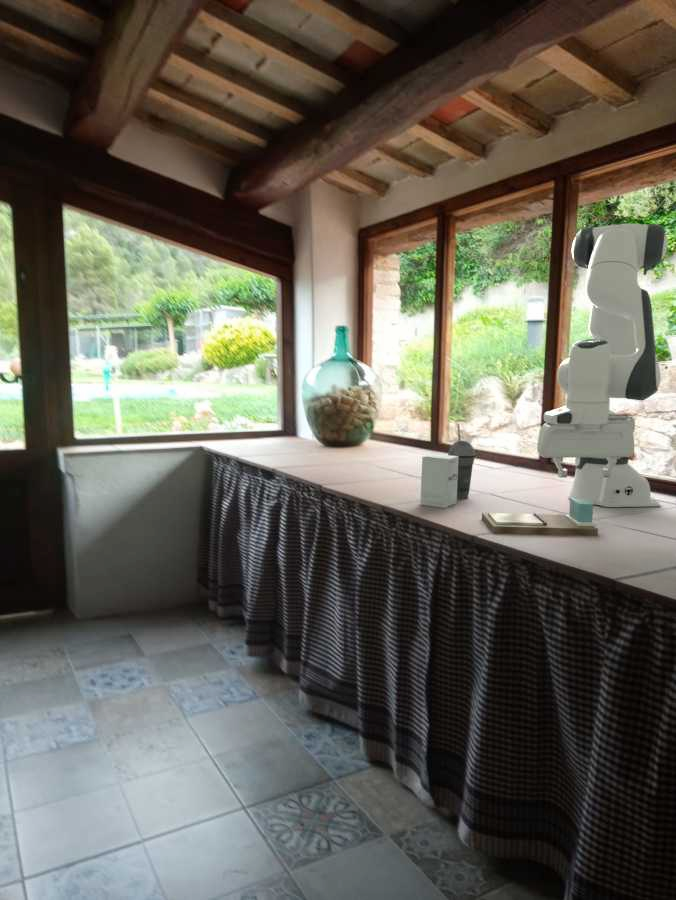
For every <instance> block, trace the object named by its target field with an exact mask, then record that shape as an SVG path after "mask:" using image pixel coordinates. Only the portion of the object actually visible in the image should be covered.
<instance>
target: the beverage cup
mask: <svg viewBox="0 0 676 900" xmlns="http://www.w3.org/2000/svg"><path fill="white" fill-rule="evenodd" d="M456 427H457V436H458V438H457V439H458V440H457V441H455V442H453V444H451V446H450V447H449V449H448V454H447V455H451V456H459V459H458V482H457V500H467V499H468V498H469V493H470V488H471V481H472V474H473V472H472V471H473V465H474V463H475V457H476V455H475V454H476V453H475V449H474V447H473V445H472V444H471V443H470V442H468V441H466V440H461V430H460V424H459V423H458V424H457V426H456Z"/></svg>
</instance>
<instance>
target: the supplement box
mask: <svg viewBox="0 0 676 900" xmlns="http://www.w3.org/2000/svg"><path fill="white" fill-rule="evenodd" d="M421 459H422V460H421V477H420V479H421V480H420V481H421V483H420V502H419V503H420V505H421V506H428V507H433V508H434V507H435V508H442V509H447V508H449V507H451V506H453V505H456V504H457V501H458V499H457V482H458V459H459V456H451V455H448V454H435V453H434V454H430V455H425V456H422V458H421Z"/></svg>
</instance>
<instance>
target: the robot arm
mask: <svg viewBox="0 0 676 900" xmlns="http://www.w3.org/2000/svg"><path fill="white" fill-rule="evenodd" d="M668 246H669V240H668V236H667V233H666V229H665V228H664V226H662V225H659V224H653V223H649V224H643V223H642V224H641V223H621V224H611V225H609V224H608V225H603V226H596V227H594V226H588V227H584V228H582V229H580V230H579V231H578V232H577V233H576V235H575V237H574V240H573V242H572V245H571V255H572V259H573V262H574V264H575V266H576V267H577V268H580V269H583V270H587V273H586V280H585V294H586V297H587V299H588V300H589V302H591V304H590V313H589V322H588V331H589V334H590V335H591V336H592V337H593V338H591V339H590V338H589V339H582V340H580V339H579V340H577V341H576V342H574V343H573V344H572V345H571V348H570V351H569V352H570V353H569V358H566V359H564V360H563V361H562V362H561V363H560V365H559V366H558V368H557V371H556V382H557V385H558V387H559V389H560V390H561V392H563V393H564V394H565V395H566V399H565V400H566V401H565V405H563V406H562V407H559V408H556V409H555V408H554V409H552V410H550V411H549V410H548V411H545V412H544V414H543V421H544V422H545V423H543V425H541V427H540V429H539V434H538V439H537V453H538V454H539V456H541V457H542V458H548V459H549V458H553V463H554V465H555V466H556V468H557V476H558V478H562V479H563V478H567V477H568V469H566V468H564V467H563V466H562V464H561V463H563V461H564V459H565V458H574V459H575V460H574V464H575V466H574V467H575V474H574V477H573V478H574V479H573V482H572V487H571V490H570V493H569V495H568V499H585V500H587V501H588V502H590V503H592V504H594V505H595V506H596V505H597V506H602V507H605V508H624V507H625V508H630V507H631V508H634V507H635V508H637V507H638V508H639V507H640V508H641V507H642V508H643V507H645V508H646V507H659V506H660V501H659V500H658V499H656V498H655V497H652V496H651V495H652V494H651V487H650V483H649V481H648V479H646V477H645V476H644V475H642V474H641V473H639V471H637V470H636V469H635V468H634V467H633V466H631V465H630V464H629V461H636V459H637V454H636V453H635V438H634V436H635V435H634V432H635V429H636V421H635V419H634V417H631V416H630V415H628V414H620V415H619V414H617V413H616V412H614V411H612V410H610V405H611V403H610V402H611V401H610V399H626V400H633V401H641V402H643V401H646V400H647V399H648V398H650V397H651V396H653V395H654V394H656V393H657V392H658V391H659V387H660V385H661V379H662V378H661V368H660V364H659V361H658V357H657V350H656V336H655V329H654V325H655V324H654V317H653V308H652V301H651V298H650V294H649V292H648V291H647V290H645V289H643V288H641V286H640V285H639V282H638V273H639V271H640V270H641V269H643V276H646V275H647V272H648V271H651V270H653V269H655V268H656V267H658V266H659V265H660V263H662V260H663V258H664V257H665V255H666V253H667V250H668Z"/></svg>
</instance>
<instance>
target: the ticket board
mask: <svg viewBox="0 0 676 900" xmlns="http://www.w3.org/2000/svg"><path fill="white" fill-rule="evenodd" d="M481 520H482V522H483V523H484V524H485V525H486V526H487V527H488V529H489V530H490V531H491V533H493V534H504V535H505V534H509V535H511V534H513V535H544V536H545V535H551V536H552V535H553V536H557V535H559V536H585V537H586V536H587V537H589V536H591V537H593V536H598V535H599V528H598V527H597V526H578V525H576V524H575V523H573V522H572V521H570V520H569V519H568V518H566V517H565V514H548V513H547V514H545V513H544V514H543V513H542V514H540V513H539V514H538V513H518V512H517V513H515V512H514V513H512V512H509V513H508V512H500V513H499V512H481Z"/></svg>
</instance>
